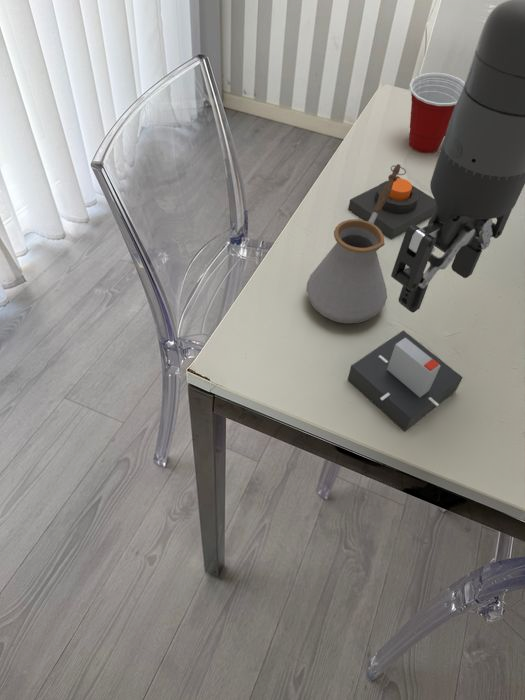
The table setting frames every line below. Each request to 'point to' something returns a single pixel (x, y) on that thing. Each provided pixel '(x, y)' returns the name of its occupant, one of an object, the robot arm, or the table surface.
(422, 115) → the plastic cup
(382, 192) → the coffee pot
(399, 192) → the power button
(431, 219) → the robot arm
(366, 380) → the timer panel
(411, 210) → the block
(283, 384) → the table surface
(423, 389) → the timer knob
